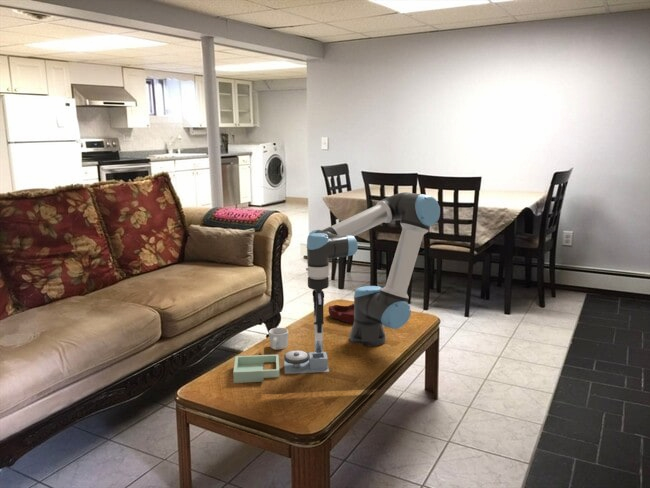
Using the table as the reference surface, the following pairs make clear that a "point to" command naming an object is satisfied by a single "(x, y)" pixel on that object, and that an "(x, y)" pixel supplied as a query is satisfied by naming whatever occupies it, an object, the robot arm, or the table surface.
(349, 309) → the ashtray
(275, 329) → the cup
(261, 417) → the table surface
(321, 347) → the dark capped cylinder
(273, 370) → the tray
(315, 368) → the block
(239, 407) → the table surface
